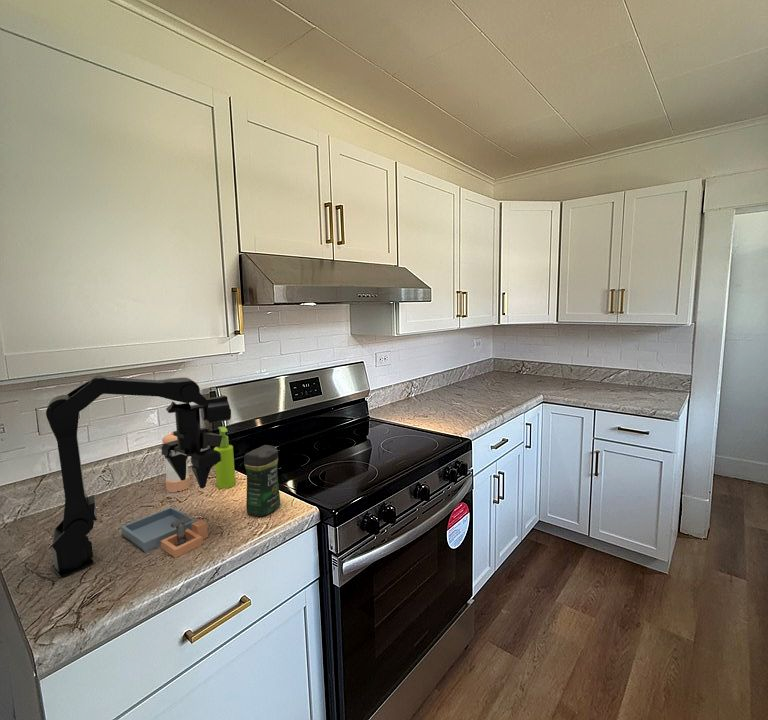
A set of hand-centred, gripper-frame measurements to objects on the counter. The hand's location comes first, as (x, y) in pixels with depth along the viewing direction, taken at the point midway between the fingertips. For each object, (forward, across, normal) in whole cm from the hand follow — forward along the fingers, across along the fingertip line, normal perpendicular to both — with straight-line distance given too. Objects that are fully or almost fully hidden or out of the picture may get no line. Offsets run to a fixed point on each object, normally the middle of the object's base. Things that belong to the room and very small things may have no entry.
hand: (192, 483), depth 111 cm
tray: (+13, +7, +6) cm, 16 cm away
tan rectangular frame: (+13, -5, +5) cm, 15 cm away
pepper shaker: (+13, +30, -12) cm, 34 cm away
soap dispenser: (+13, +17, -21) cm, 30 cm away
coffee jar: (+13, -6, -17) cm, 23 cm away
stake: (+13, -5, +6) cm, 15 cm away
